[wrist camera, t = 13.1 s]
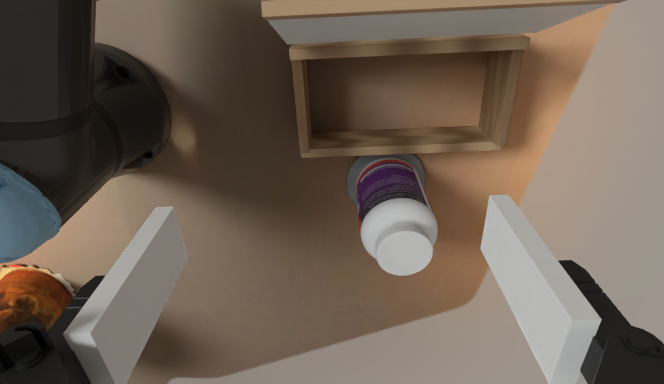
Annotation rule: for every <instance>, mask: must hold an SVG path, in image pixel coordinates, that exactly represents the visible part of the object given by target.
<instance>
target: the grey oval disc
mask: <svg viewBox="0 0 664 384" xmlns="http://www.w3.org/2000/svg"><path fill="white" fill-rule="evenodd" d="M386 157H394V158H399V159H402V160H404V161H406V162H408V163H409V164H411V165H412V166H413V167H414V169H415V170H416V171H417V173H418V175H419V178H420V180H421V183H422V186H423V188H424V186H425V172H424V169H423V167H422V164H421V162H420V161H419V159H418V158H417V157H416V156H415V155H414V154H390V155H364V156H358V157H357V158H356V159H355V160H354V162H353V163H352V164H351V166H350V168H349V171H348V174H347V190H348V194H349V196H350V198H351V200H352V201H353V202H354V204H355V205H356V206H357V207H358V204H357V195H356V182H357V179H358V176H359V174H360V173H361V171H362V170H363V169H364V168H365V167H366V166H367V165H368V164H370V163H371V162H373V161H375V160H377V159H380V158H386Z"/></svg>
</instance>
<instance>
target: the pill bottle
mask: <svg viewBox="0 0 664 384" xmlns="http://www.w3.org/2000/svg"><path fill="white" fill-rule="evenodd" d="M356 195H357V204H358V213H359V223H360V233H361V240H362V243H363V245H364V247H365V249H366V250H367V252H368V253H369V254H370V255H371V256H372V257H374V258H375V259H377V262H378V264H379V265H380V267H381V268H382V269H383V270H385V271H386V272H388V273H391V274H393V275H400V276H405V275H411V274H415V273H417V272H419V271H421V270H422V269H424V268H425V267H426V266H427V265H428V264H429V262H430V261H431V259H432V256H433V245H434V243H435V241H436V238H437V234H438V225H437V221H436V218H435V216H434V213H433V211H432V208H431V206H430V203H429V201H428V198H427V196H426V193H425V191H424V188H423V186H422V183H421V180H420V178H419V175H418V173H417V171H416V170H415V169H414V167H413V166H412V165H411V164H409V163H408V162H406V161H404V160H402V159H399V158H394V157H386V158H380V159H377V160H375V161H373V162H371V163H370V164H368V165H367V166H366V167H365V168H364V169H363V170H362V171H361V173H360V174H359V176H358V179H357V182H356Z"/></svg>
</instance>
